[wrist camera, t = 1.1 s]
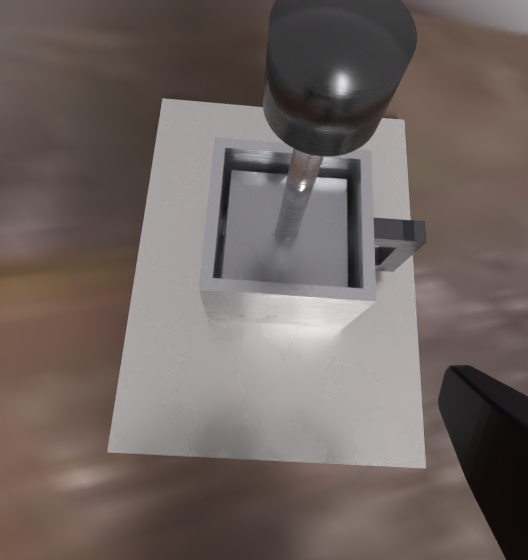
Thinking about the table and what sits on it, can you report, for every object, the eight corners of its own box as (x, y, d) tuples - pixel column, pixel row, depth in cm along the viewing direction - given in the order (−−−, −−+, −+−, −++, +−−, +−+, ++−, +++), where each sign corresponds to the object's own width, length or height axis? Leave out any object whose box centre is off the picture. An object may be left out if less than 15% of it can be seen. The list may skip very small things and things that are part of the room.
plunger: (345, 292, 18) (479, 144, 8) (222, 284, 18) (205, 120, 8) (344, 185, 20) (455, -49, 10) (231, 176, 20) (228, -74, 10)
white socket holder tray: (419, 466, 21) (493, 487, 15) (111, 450, 20) (59, 466, 14) (399, 128, 27) (446, 46, 21) (164, 107, 26) (143, 16, 20)
